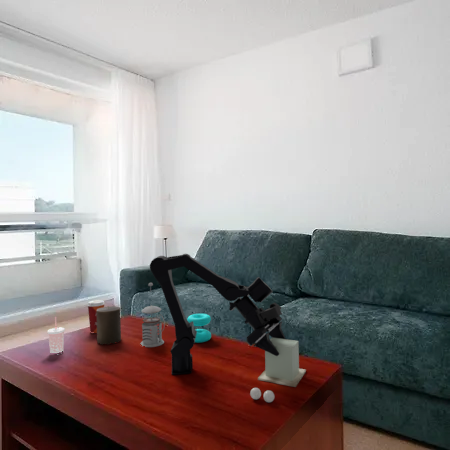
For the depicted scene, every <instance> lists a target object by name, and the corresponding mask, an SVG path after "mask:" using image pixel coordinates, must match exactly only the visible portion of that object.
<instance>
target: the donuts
mask: <svg viewBox="0 0 450 450" xmlns="http://www.w3.org/2000/svg"><path fill="white" fill-rule="evenodd" d="M186 319H187V321H188V322H189V323H190V322H192V321H193V324H194V327H203V326H207V325H209V323H211V321H212V318H211V315H209V314H207V313H193V314H191V315H188V317H186ZM195 330H196V331H197V333H196V338H195V343H199V344H200V343H205V342H208V341H210V340H211V338H212V333H211V331H209V330H208V329H205V328H197V329H196V328H195Z"/></svg>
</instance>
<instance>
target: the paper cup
mask: <svg viewBox="0 0 450 450" xmlns="http://www.w3.org/2000/svg"><path fill="white" fill-rule="evenodd" d="M105 304H106V303H105V301H104V300H103V299H95V300H90V301H88V302H87V305H86V306H87V308H88V309H87V310H88V312H87V313H88V320H89V323H88V324H89V329H90V331H91V332H94V333H97V309H99V308H103V307H105ZM91 332H90V333H91Z"/></svg>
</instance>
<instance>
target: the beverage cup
mask: <svg viewBox="0 0 450 450" xmlns="http://www.w3.org/2000/svg"><path fill="white" fill-rule="evenodd" d="M54 324H55V325H54V327H53V328H49V329H48V330H47V331H46V332H47V336H48V345H49V353H59V352H62V351H63V352H64V341H65V340H64V339H65V338H64V337H65V331H66V330H65V327H60V326H59V327H58V325H57V316H54Z"/></svg>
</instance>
